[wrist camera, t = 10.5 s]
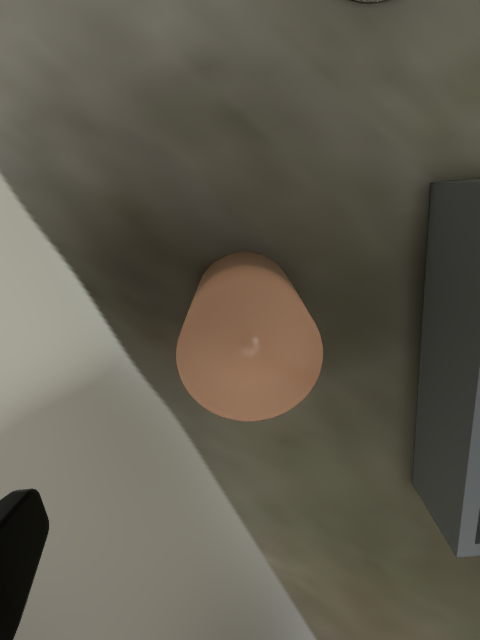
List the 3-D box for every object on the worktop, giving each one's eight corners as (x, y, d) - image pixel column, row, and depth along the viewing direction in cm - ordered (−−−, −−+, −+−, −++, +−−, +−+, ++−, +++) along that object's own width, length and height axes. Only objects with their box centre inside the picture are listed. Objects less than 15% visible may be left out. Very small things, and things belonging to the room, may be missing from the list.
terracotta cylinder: (295, 340, 20) (325, 414, 14) (202, 349, 20) (187, 427, 14) (290, 246, 19) (320, 279, 12) (189, 257, 19) (164, 295, 12)
